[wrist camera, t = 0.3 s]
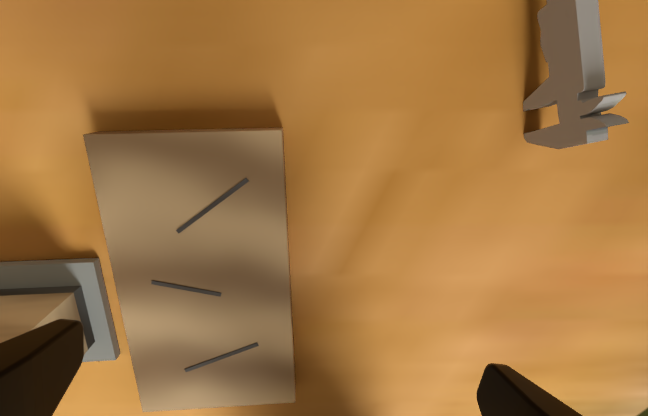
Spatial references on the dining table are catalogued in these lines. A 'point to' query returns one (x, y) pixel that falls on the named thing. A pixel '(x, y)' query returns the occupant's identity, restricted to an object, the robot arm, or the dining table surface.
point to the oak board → (199, 262)
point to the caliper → (573, 76)
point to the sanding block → (42, 310)
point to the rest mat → (71, 275)
